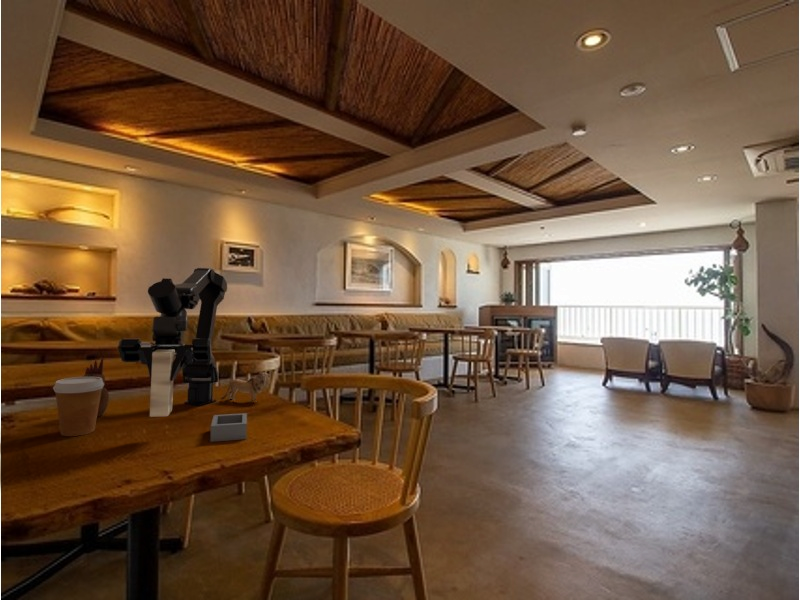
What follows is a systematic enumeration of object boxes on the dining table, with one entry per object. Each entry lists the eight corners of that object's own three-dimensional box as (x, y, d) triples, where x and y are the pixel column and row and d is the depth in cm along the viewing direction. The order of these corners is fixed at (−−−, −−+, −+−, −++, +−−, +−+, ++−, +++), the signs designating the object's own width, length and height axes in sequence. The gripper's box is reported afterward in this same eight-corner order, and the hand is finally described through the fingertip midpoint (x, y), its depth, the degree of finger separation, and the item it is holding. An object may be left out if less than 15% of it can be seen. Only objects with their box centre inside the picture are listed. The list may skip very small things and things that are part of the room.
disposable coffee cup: (62, 441, 92) (63, 385, 92) (44, 433, 97) (45, 380, 97) (110, 430, 100) (112, 379, 100) (92, 423, 105) (93, 374, 105)
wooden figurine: (113, 413, 114) (114, 357, 114) (95, 419, 108) (97, 360, 108) (89, 412, 115) (91, 356, 115) (71, 418, 109) (72, 359, 109)
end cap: (213, 429, 103) (213, 415, 103) (246, 427, 106) (246, 413, 106) (210, 441, 95) (210, 425, 95) (246, 439, 97) (246, 423, 97)
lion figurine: (271, 399, 135) (272, 371, 135) (267, 403, 129) (268, 374, 129) (223, 399, 134) (224, 370, 134) (217, 403, 128) (218, 373, 128)
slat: (154, 410, 97) (157, 349, 97) (172, 410, 99) (174, 349, 98) (149, 416, 93) (152, 352, 93) (167, 416, 94) (170, 352, 94)
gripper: (121, 302, 96) (104, 359, 86) (211, 304, 102) (205, 357, 92) (129, 334, 104) (115, 389, 93) (213, 334, 110) (208, 386, 99)
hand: (161, 380), depth 94 cm, fingers closed on slat, 3 cm apart
